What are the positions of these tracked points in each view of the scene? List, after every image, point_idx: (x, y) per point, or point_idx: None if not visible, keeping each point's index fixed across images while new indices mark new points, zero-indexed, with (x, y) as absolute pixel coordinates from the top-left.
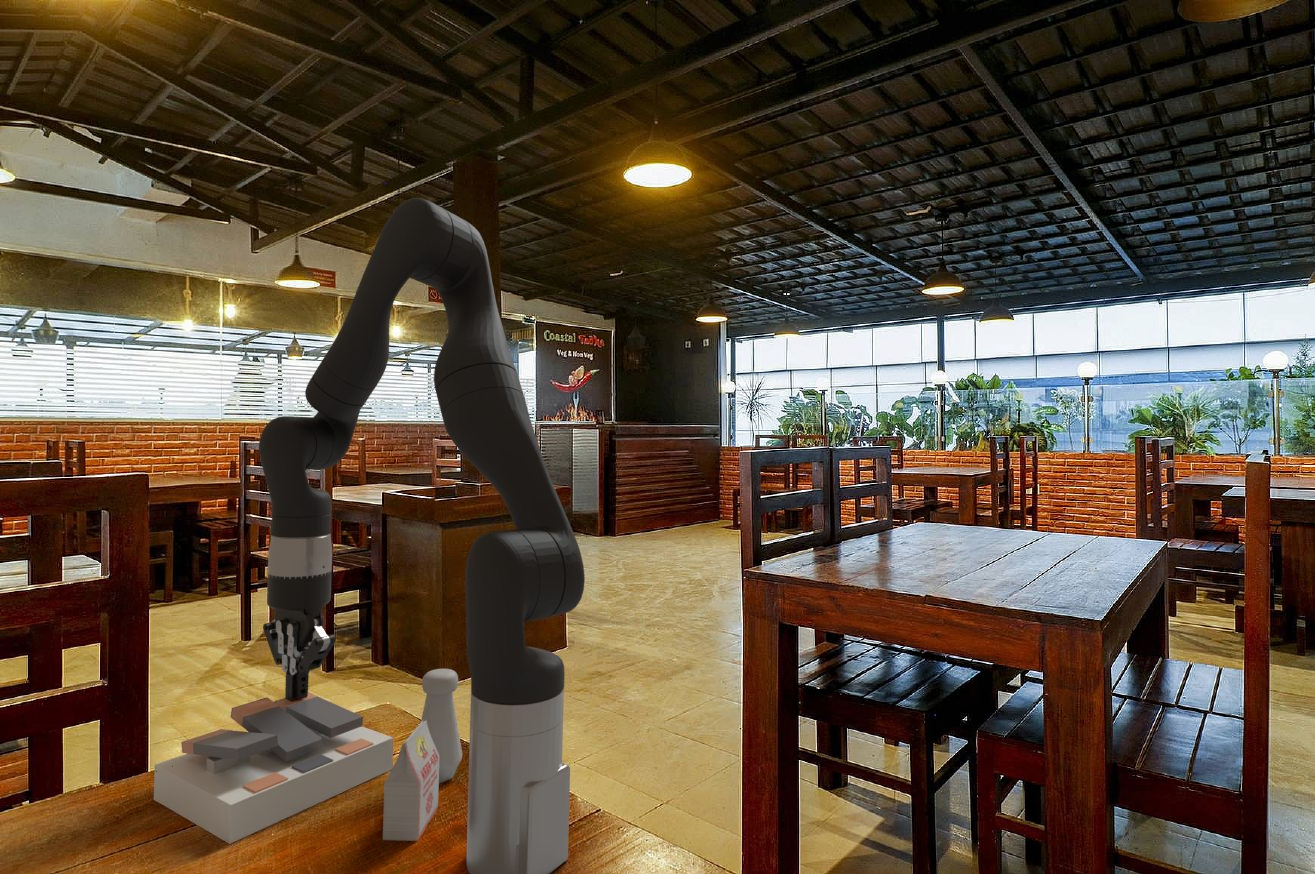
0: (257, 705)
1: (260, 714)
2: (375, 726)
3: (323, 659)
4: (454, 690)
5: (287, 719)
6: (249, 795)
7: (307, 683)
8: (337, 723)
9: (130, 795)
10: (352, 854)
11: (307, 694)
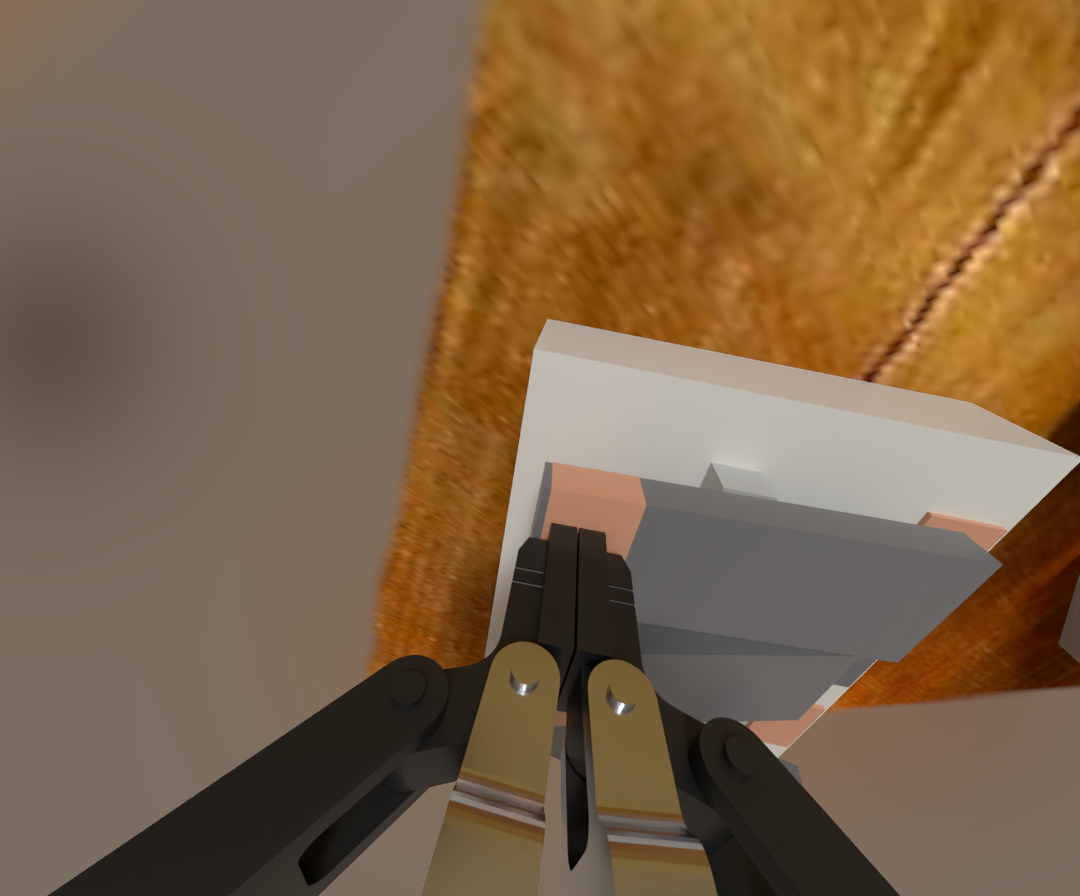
0: None
1: None
2: (694, 75)
3: (850, 853)
4: None
5: (692, 670)
6: (778, 748)
7: (633, 617)
8: (904, 636)
9: (441, 636)
10: (1001, 679)
11: (605, 539)
